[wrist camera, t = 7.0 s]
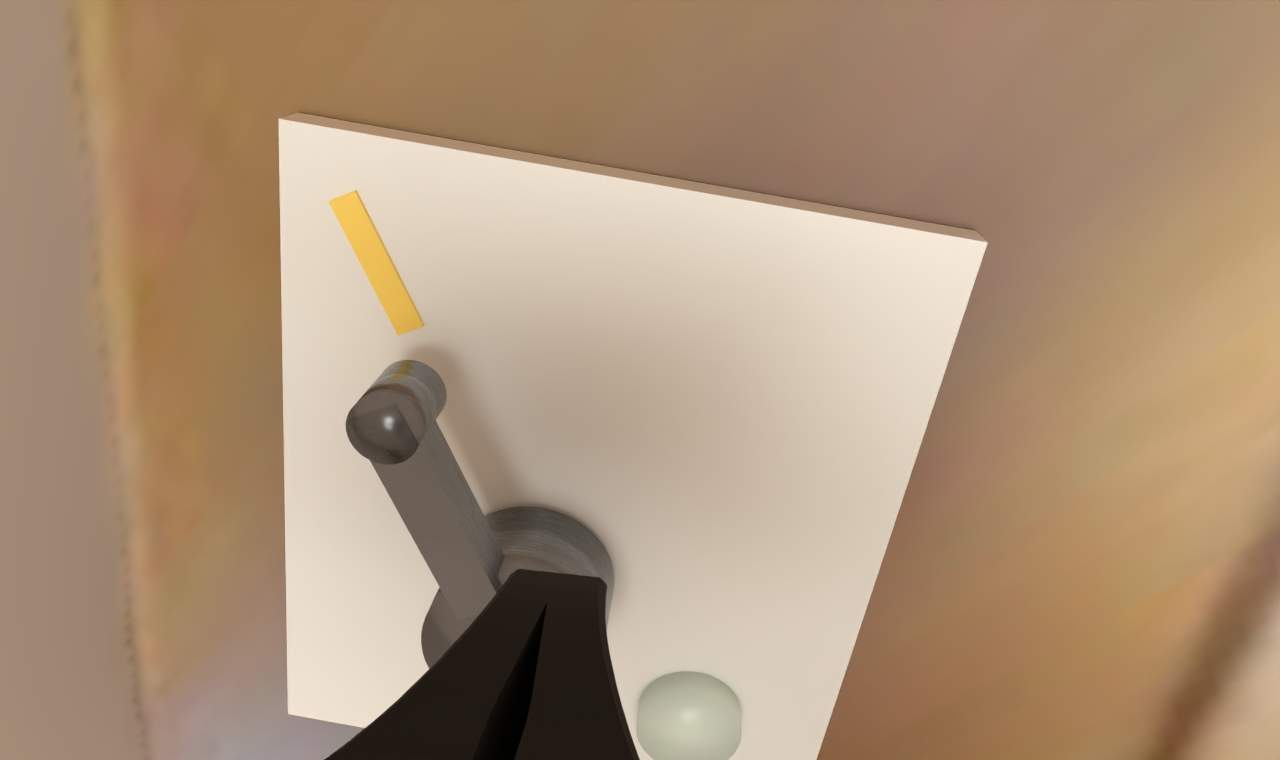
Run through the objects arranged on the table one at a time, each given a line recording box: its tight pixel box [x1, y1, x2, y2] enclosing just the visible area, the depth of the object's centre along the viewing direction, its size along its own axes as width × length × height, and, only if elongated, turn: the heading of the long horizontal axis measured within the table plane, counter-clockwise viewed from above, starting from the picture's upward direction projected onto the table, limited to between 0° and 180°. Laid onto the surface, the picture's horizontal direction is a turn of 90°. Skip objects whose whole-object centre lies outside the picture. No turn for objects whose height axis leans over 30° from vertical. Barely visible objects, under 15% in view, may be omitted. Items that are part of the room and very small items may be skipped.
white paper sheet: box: [279, 113, 988, 760], centre depth 24 cm, size 18×16×2 cm
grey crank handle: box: [346, 360, 615, 669], centre depth 22 cm, size 10×4×3 cm, turn 20°
